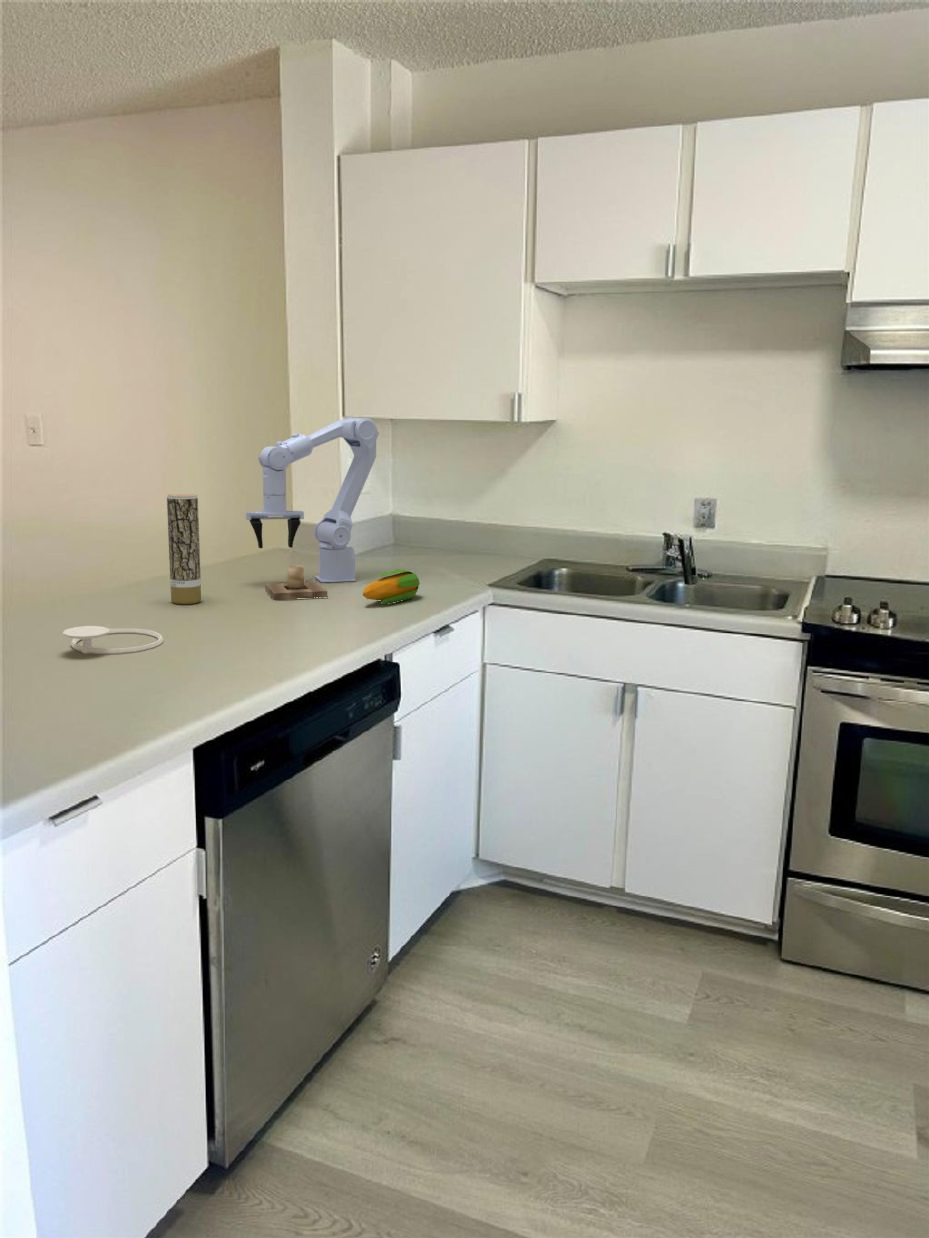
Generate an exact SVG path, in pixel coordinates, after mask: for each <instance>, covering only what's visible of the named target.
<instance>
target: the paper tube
mask: <svg viewBox="0 0 929 1238" xmlns="http://www.w3.org/2000/svg"><path fill="white" fill-rule="evenodd" d="M166 496H167V497H166V504H167V505H166V509H167V511H166V513H167V534H168V555H169V556H168V560H169V579H170V581H169V583H170V601H171V602H172V603H173V604H175V605H194V604H198V603H200V602H201V601H202V588H201V587H202V583H201V580H202V579H201V554H200V553H201V552H200V551H201V549H200V547H201V546H200V523H199V520H200V519H199V516H200V515H199V497H198V494H194V493H193V494H191V493H172V494H167V495H166Z"/></svg>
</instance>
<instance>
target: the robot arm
mask: <svg viewBox="0 0 929 1238" xmlns="http://www.w3.org/2000/svg"><path fill="white" fill-rule="evenodd" d="M379 434H380V433H379V430H378V428H377V425H376V423H375V421H373V420H372V419H371V418H369V417H363V418H362V417H361V418H360V417H353V416H347V417H345V418H342V419H339V420H338V419H337V420H336V421H334V422H332V423H331V424H329V425H326V426H325V427H323V428H321V429H319V430H317V431H314V432H313V433H311V434H309V435H305V434H303V433H293V434H291V437H290V438H288V439H286V440H283V441H281V440H280V441H277V442H276V443H275V446H270V445H269V446H266V447H264V448H263V449H262V451H261V452H260V455H259V456H258V457H257V458H258V459H257V460H258V463H259V464H260V466H261V468H262V495H263V496H262V497H263V503H262V504H263V510H257V511H245V520H246V521H249V523H250V525H251V526H252V529H253V532H254V535H255V537H256V540H257V545H258V546H257V547H258V549H263V547H264V546H263V543H264V542H263V522H262V520H287V528H288V529H287V530H288V531H287V532H288V535H287V536H288V537H287V545H288V547H289V548H291V549H292V548H293V546H294V540H295V537H296V534H297V531H298V529H299V527H300V525H301V520H304V519H305V512H304V511H302V510H287V476H286V475H287V468H288V467H289V466H290V465H291V464H293V463H295V462H297V461H299V460H301V459H304V458H305V457H308V456H310V455H311V454H312V452H313V449H314V448H316V447H319V446H320V445H324V444H326V443H329V442H331V441H333V440H336V439H338V438H341V439H343V440H344V441H345V442H346V443H347V445H348V446H349V447H350V449H351V452H352V453H353V458H352V461H351V463H350V465H349V467H348V470H347V472H346V475H345V476H344V479H343V482H342V485H340V486H341V487H340V489H339V491H338V493H337V496H336V498H335V500H334V502H333V504H332V508H331V509H329V510H328V511H327V512H326V513H325V514H323V517H322V519H321V520H320V521H319V522H318V523H317V524H316V526H315V528H314V537H315V539H316V540H317V541H318V567H319V568H318V574H317V575H315V576H314V578H315V577H316V580H318V581H319V582H320V583H342V582H356V581H357V580H356V553H355V550H354V547H352V546H347V545H348V544H349V543H350V541H351V537H352V536H351V535H352V533H351V532H352V528H353V526H354V524H353V521H352V518H351V516H352V514H353V512H354V509H355V507H356V505H357V502H358V500H359V498H360V496H361V493H362V491H363V489H364V486H365V484H366V481H367V479H368V477H369V474H370V472H371V470H372V468H373V465H374V463H375V461H376V458H377V439H378V437H379Z"/></svg>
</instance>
